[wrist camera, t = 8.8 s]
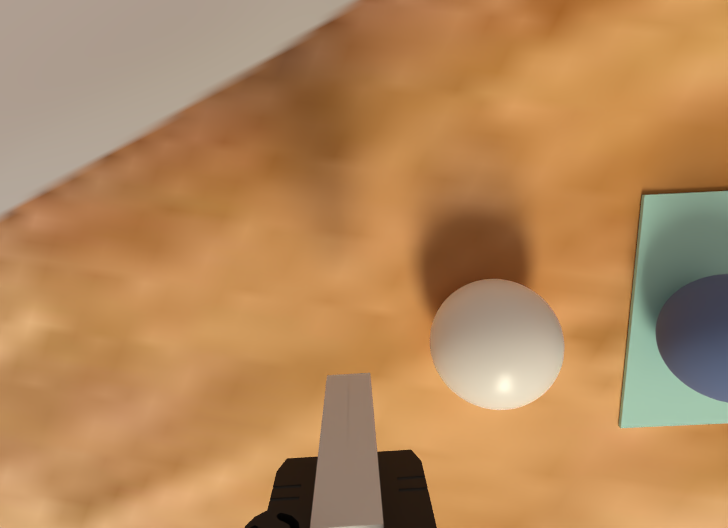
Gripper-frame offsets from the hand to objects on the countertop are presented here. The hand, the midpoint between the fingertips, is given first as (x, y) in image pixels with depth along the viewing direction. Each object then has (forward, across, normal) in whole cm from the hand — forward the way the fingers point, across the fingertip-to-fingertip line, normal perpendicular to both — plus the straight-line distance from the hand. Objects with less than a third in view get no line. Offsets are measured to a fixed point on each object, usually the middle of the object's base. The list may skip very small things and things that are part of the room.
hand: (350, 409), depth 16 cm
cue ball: (+4, +6, +1) cm, 7 cm away
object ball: (+3, +16, 0) cm, 17 cm away
